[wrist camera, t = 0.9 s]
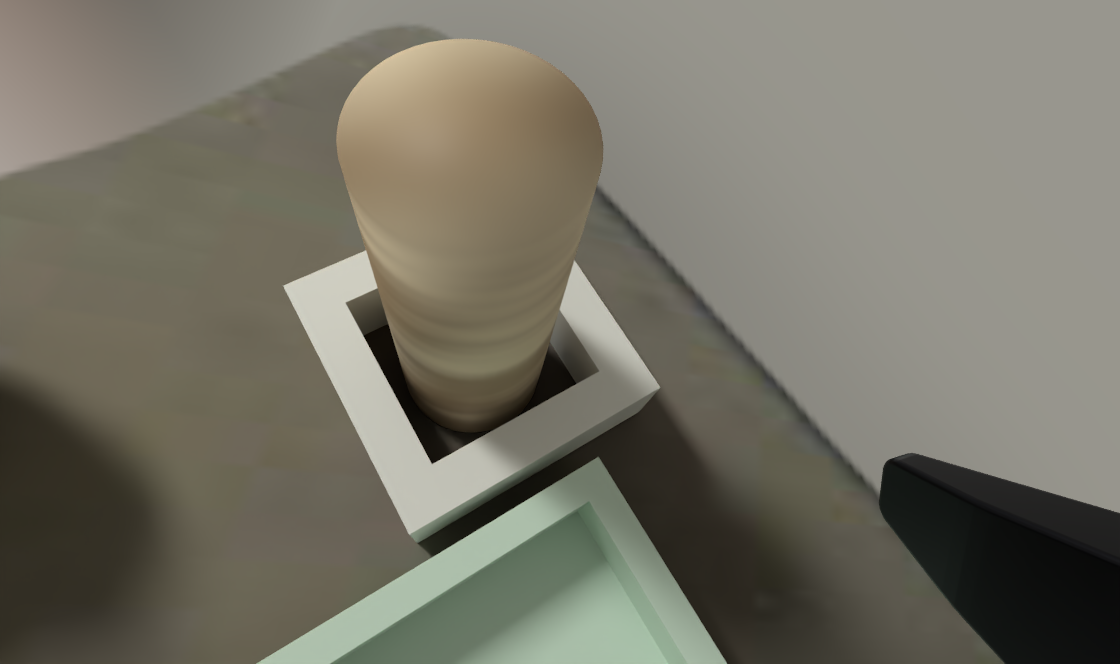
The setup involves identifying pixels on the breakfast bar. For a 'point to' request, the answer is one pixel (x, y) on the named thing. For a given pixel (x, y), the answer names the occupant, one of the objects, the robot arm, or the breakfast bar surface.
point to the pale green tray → (527, 594)
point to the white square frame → (499, 456)
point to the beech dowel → (470, 215)
